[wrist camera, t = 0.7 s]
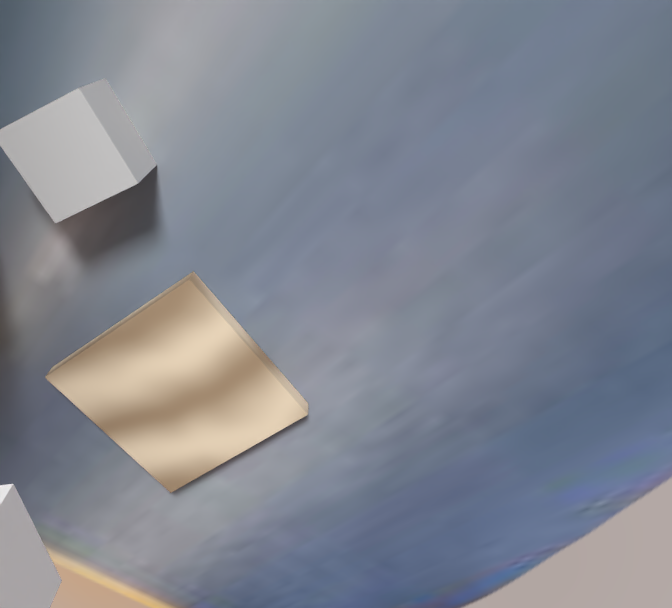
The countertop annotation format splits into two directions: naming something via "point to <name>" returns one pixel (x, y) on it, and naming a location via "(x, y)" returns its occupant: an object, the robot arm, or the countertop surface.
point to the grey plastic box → (77, 150)
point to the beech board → (179, 385)
